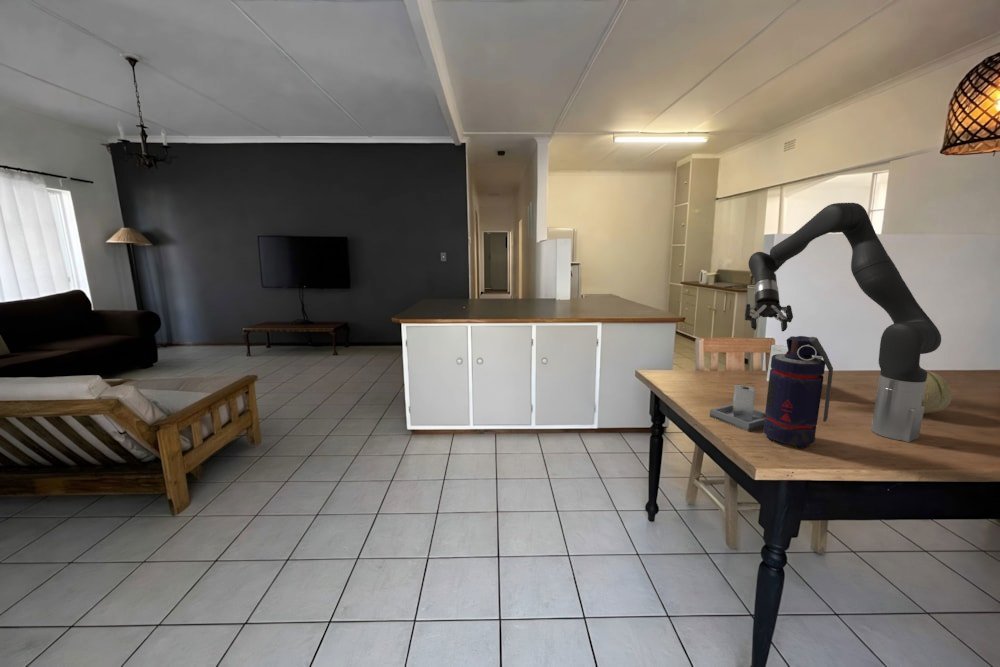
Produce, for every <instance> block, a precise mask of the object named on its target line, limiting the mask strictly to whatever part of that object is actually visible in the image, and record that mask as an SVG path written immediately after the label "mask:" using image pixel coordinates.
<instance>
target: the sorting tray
mask: <svg viewBox="0 0 1000 667" xmlns="http://www.w3.org/2000/svg"><path fill="white" fill-rule="evenodd" d="M732 408H733V403H731V404H727V405H722V406H718V407H714V408H711V409H709V418H712V417H713V418H712V419H715V418H716V419H715V420H717V419H718V421H720V422H722V421H723V422H722V423H725V424H728V425H730V424H731V425H730V426H733V425H734V426H733V427H735V426H736V428H738V427H739V428H738V429H740V428H741V430H743V429H744V431H746V430H747V431H746V432H752V431H755V430H759V429H762V428H764V421H765V416H766V415H765V412H764V411H761V410H759V409H756V408H753V416H752V421H744V420H741V419H739V418H736V417H733V416H732ZM761 427H762V428H761ZM758 428H759V429H758ZM754 429H755V430H754ZM751 430H752V431H751Z"/></svg>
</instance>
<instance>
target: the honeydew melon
mask: <svg viewBox="0 0 1000 667" xmlns="http://www.w3.org/2000/svg"><path fill="white" fill-rule="evenodd" d="M926 371H927V380H926V385H925V390H924V395H923V400H922V405H921V406H924V413H923V415H925V414H931V413H932V414H933V413H937V412H941V411H943V410H945V409H946V408H947V407H948V406H949V405H950V403H951V401H952V398H953V392H952V389H951V386H950V385H949V383H948V381H947V380H946V379H944V378H943V377H942V376H941V375H940V374H938V373H935V372H933V371H929V370H926Z"/></svg>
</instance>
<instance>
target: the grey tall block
mask: <svg viewBox="0 0 1000 667" xmlns="http://www.w3.org/2000/svg"><path fill="white" fill-rule="evenodd" d="M733 388H734V389H733V390H734V391H733V400H732V404H733V408H732V416H733V417H736V418H739V419H741V420H744V421H752V416H753V409H754V407H755V406H754V405H755V396H756V391H755V388H754V386H750V385H741V384H740V385H739V384H734V387H733Z"/></svg>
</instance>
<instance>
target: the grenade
mask: <svg viewBox="0 0 1000 667" xmlns="http://www.w3.org/2000/svg"><path fill="white" fill-rule="evenodd" d="M785 341H786V346H787V347H788V351H787V353H786V354H776V355H773V356H772V359H771V368H772V369H771V370H770V376H769V382H768V384H767V394H766V401H765V402H766V404H765V415H766V416H765V421H764V427H763V433H764V434H765V437H766V439H767V438H768V439H769V440H768V439H767V440H768V441H770V440H771V441H770V442H775V441H776V442H779V443H782V444H785V445H792V446H795V448H796V447H797V448H796V449H805V448H807V445H812V444H814V443H815V439H816V433H817V432H816V431H817V425H818V418H819V412H820V404H821V398H822V390H823V385H824V384H823V383H824V374H825V369H826V368H827V371H828V373H827V374H828V375H827V384H826V392H825V399H824V400H825V401H824V411H823V420H822V421H823V422H824V423H826V422H827V420H828V418H829V410H830V400H831V391H832V382H833V373H834V372H833V371H834V368H833V365H832V364H831V361H830V359H829V356H828V354H827V353H826V351H825V349H824V347H823V346H822V344H821V342H820V340H819V339H818V337H816V336H805V335H804V336H803V335H798V336H789V337H788V338H787V339H786V340H785ZM812 355H813V356H814V357H812ZM816 356H822V359H819V358H815V357H816Z"/></svg>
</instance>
